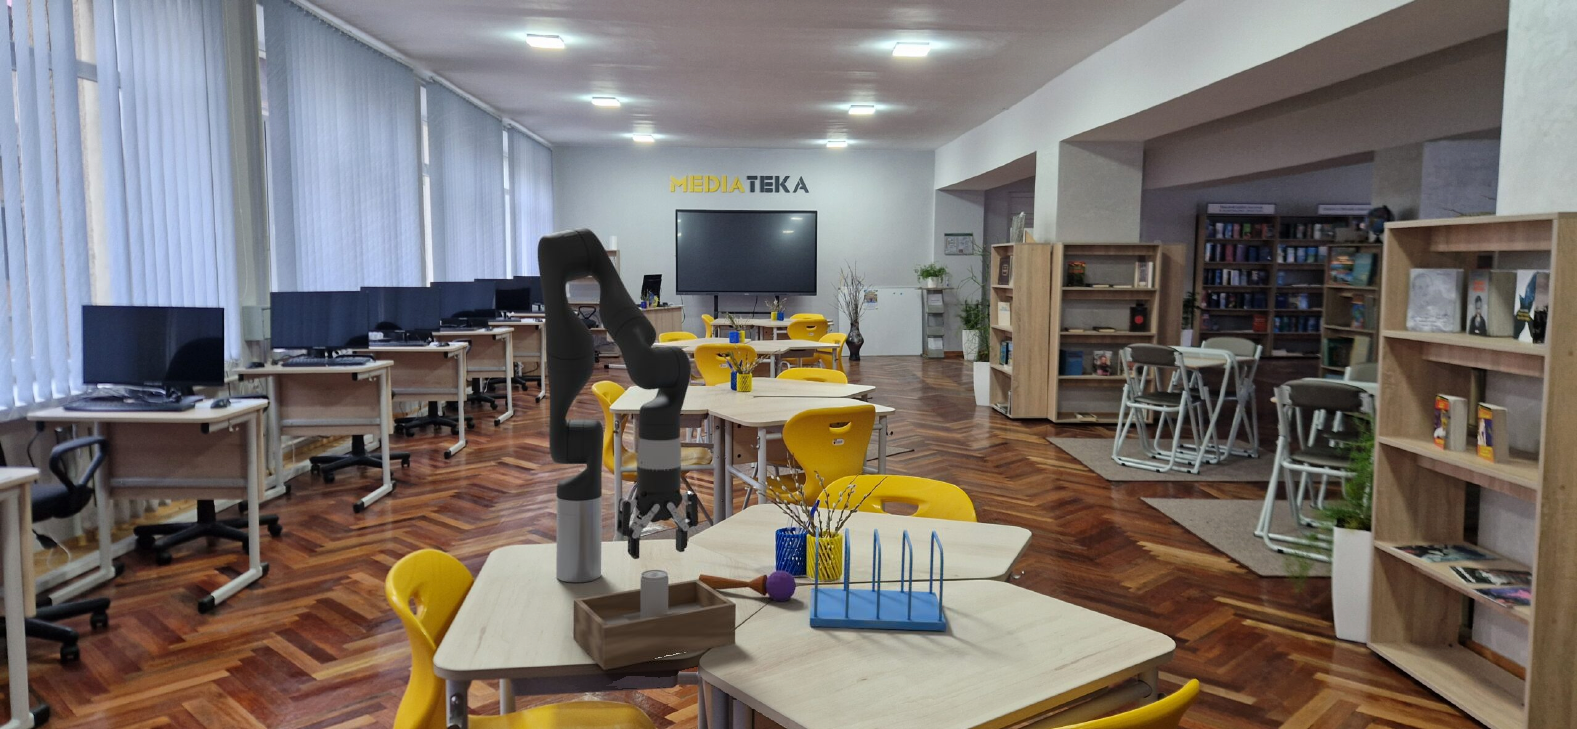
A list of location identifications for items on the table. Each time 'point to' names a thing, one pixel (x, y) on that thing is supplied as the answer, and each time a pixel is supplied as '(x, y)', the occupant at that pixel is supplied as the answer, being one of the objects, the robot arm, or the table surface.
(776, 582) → the purple maraca
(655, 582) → the beverage can
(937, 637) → the table surface
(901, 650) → the table surface
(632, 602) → the box
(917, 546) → the table surface
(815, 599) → the file sorter
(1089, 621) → the table surface
